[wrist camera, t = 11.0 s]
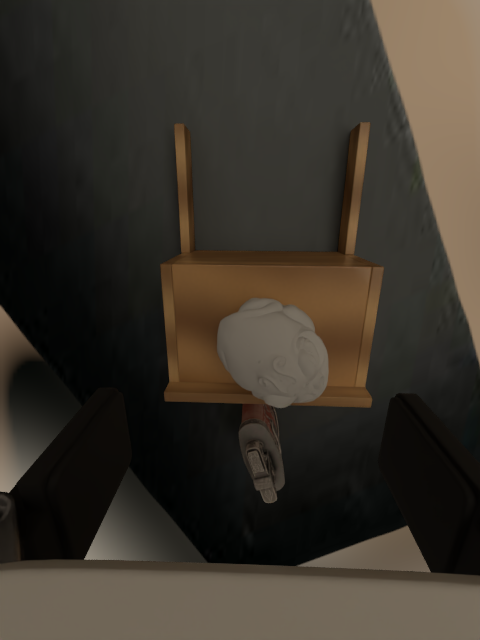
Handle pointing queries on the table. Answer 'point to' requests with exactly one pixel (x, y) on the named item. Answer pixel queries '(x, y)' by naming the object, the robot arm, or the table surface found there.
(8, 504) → the robot arm
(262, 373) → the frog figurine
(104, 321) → the table surface
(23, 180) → the table surface
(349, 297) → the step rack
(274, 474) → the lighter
